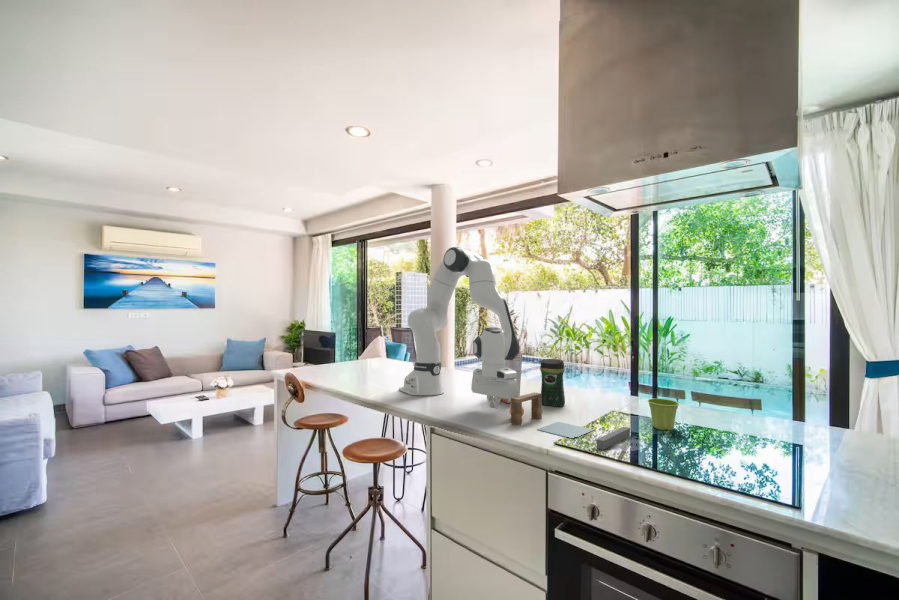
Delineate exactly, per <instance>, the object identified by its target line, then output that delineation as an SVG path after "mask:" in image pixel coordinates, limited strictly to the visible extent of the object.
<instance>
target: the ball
mask: <svg viewBox="0 0 899 600" xmlns="http://www.w3.org/2000/svg"><path fill="white" fill-rule="evenodd" d="M509 413H510V414H509V415H511V407H510V408H509ZM524 414H525V409H524V407H523V406H522V417H523V415H524Z"/></svg>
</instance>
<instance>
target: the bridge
mask: <svg viewBox="0 0 899 600" xmlns="http://www.w3.org/2000/svg"><path fill="white" fill-rule="evenodd" d="M528 401H531V402H530V403H531V407H530V408H531V415H530V416H531V418H532V417H533V418H534V419H537V420H539V419H542V417H543V416H542V411H543V409H542V408H543V407H542V406H543V404H542V394H541V392H534V391H533V392H531V393H527V394H522V395H520V396H518V397H514V398H511V403H510V408H511V414H510V424H511V423H512V424H511V425H514V424H515V425H514V426H518V425H519V426H521V424H523V416H522V407H523V402H528ZM533 418H532V419H533Z"/></svg>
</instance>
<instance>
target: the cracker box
mask: <svg viewBox="0 0 899 600" xmlns="http://www.w3.org/2000/svg"><path fill="white" fill-rule="evenodd" d="M522 361H523V353H522V352H519V354H518V355H517V356H516V357H515V358H514V359H513V360H505V366H507V367H508V368H510V369H512V370H514V371H516V372H517V377H515V379H516V380H517V383H518V396H521V382H522V381H521V380H522V363H523V362H522ZM500 401H503V402H504V403H506V404H511V400H509V399H503V398H501V400H500Z"/></svg>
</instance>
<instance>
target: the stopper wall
mask: <svg viewBox="0 0 899 600" xmlns="http://www.w3.org/2000/svg"><path fill="white" fill-rule="evenodd" d="M630 436H631V428H630V427H627V426H622V427H620V428H618V429H616V430H613V431H611V432H609V433H606V434H605V435H603V436H600V437H599V438H597V439H596V449H599V450H603V451H604V450H607V449H608V448H611V447H613V446H615V445H616V444H618V443H620V442H621V441H623V440H626V439H628V438H629V437H630Z"/></svg>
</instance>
